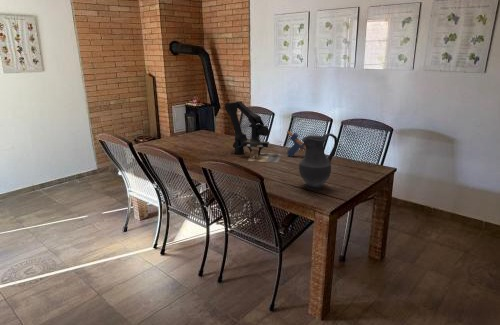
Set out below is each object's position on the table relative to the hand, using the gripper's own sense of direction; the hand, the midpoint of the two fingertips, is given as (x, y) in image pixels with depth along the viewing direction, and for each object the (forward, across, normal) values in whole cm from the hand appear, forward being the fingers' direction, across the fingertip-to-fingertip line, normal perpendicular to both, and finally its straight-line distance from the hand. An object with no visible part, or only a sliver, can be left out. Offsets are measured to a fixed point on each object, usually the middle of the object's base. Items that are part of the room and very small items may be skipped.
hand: (255, 155), depth 241 cm
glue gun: (+3, +33, +12) cm, 35 cm away
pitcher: (+3, +44, -44) cm, 62 cm away
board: (+3, +6, -2) cm, 7 cm away
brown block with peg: (+1, 0, -2) cm, 2 cm away
